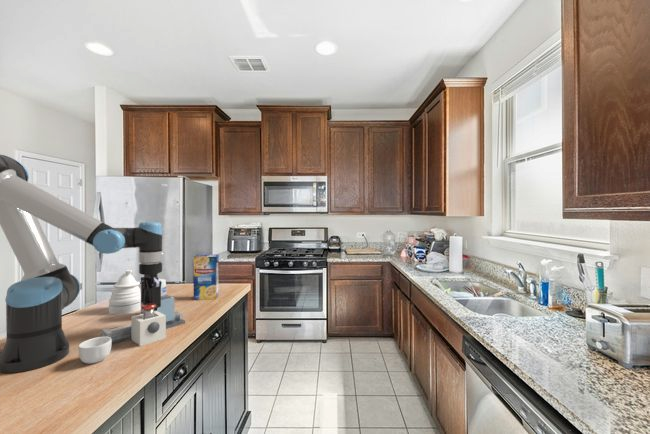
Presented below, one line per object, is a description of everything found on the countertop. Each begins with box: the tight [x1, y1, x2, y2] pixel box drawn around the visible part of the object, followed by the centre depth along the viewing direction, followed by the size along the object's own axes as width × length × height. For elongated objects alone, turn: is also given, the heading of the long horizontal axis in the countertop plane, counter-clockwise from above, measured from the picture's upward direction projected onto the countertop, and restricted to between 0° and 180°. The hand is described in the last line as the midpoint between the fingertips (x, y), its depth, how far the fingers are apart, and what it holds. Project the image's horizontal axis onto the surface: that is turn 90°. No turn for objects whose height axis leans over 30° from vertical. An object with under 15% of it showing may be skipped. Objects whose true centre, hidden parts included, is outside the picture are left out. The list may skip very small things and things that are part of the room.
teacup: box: [78, 336, 113, 365], centre depth 88 cm, size 10×8×5 cm
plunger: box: [141, 303, 156, 320], centre depth 101 cm, size 4×4×8 cm
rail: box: [100, 310, 186, 345], centre depth 109 cm, size 25×10×3 cm, turn 141°
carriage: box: [158, 294, 175, 322], centre depth 114 cm, size 7×5×9 cm, turn 141°
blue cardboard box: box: [193, 254, 220, 301], centre depth 151 cm, size 7×11×22 cm, turn 100°
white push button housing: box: [130, 311, 167, 347], centre depth 101 cm, size 8×8×8 cm
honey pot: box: [108, 269, 141, 315], centre depth 132 cm, size 13×13×18 cm
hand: (150, 323), depth 111 cm, fingers closed on carriage, 5 cm apart
